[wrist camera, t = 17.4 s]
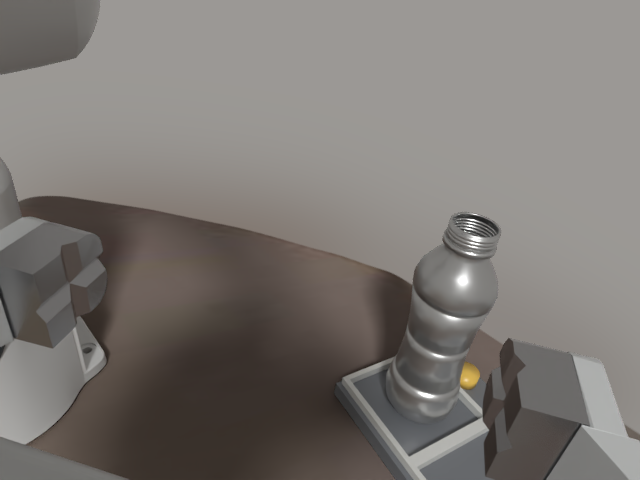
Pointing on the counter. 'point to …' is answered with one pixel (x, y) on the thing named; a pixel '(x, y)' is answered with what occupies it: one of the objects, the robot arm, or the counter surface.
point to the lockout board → (419, 428)
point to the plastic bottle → (444, 319)
